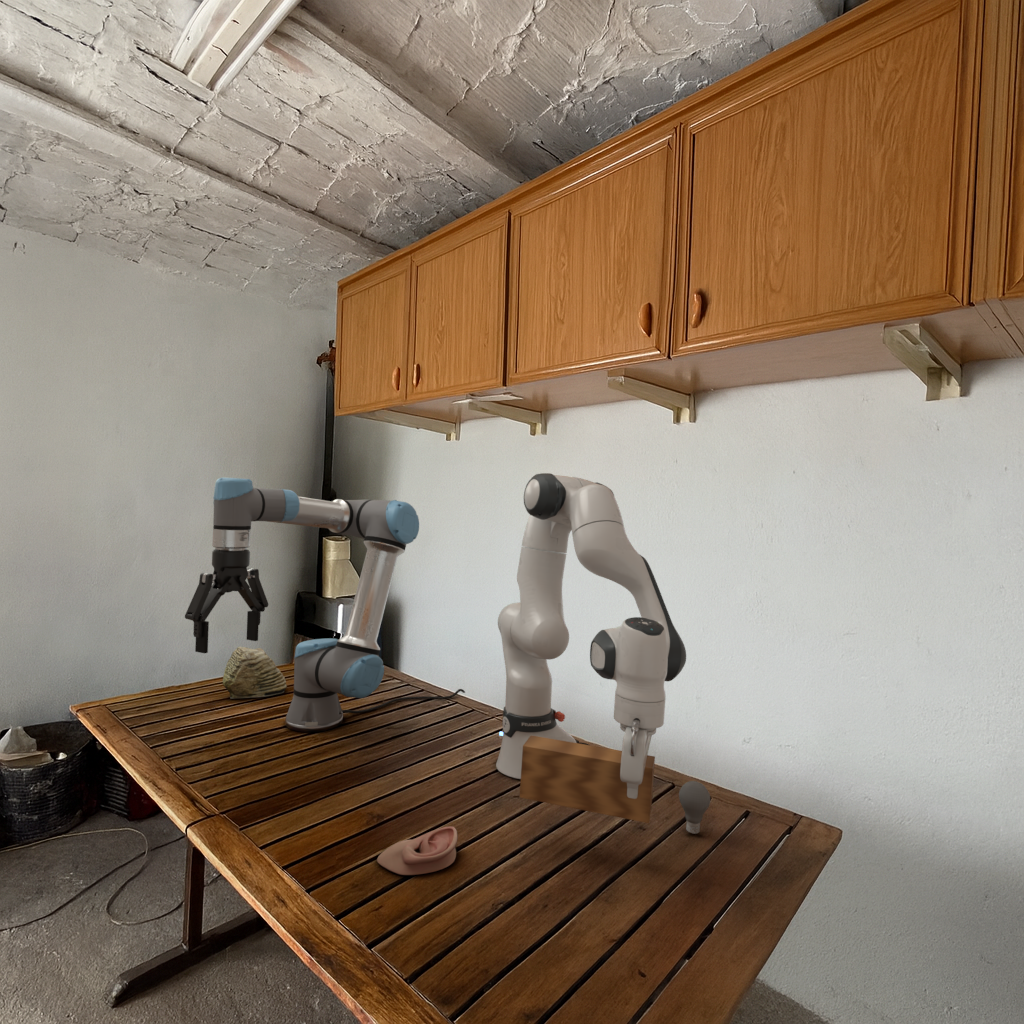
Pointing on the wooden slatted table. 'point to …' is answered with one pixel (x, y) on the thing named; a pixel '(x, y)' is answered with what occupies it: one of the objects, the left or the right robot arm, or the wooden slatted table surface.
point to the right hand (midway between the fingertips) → (634, 788)
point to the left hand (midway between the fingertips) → (227, 646)
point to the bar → (582, 778)
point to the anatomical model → (421, 853)
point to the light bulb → (694, 804)
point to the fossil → (252, 674)
